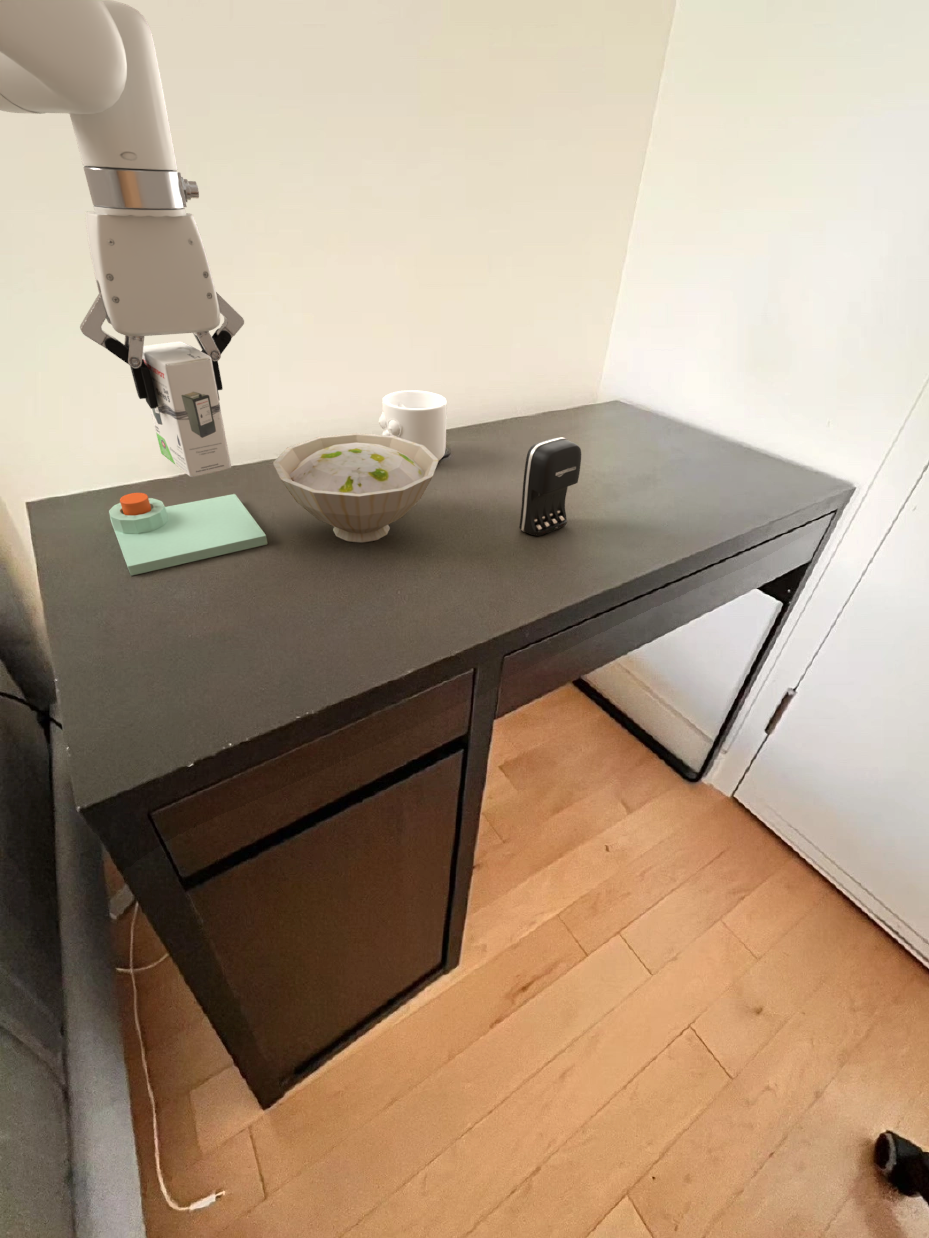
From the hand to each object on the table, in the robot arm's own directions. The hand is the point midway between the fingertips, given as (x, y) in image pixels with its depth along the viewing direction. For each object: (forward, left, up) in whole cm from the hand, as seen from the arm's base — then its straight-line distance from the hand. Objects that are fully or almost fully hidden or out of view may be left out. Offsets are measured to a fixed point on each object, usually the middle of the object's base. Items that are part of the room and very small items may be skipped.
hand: (182, 399), depth 65 cm
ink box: (0, 0, -7) cm, 7 cm away
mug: (+34, +12, -16) cm, 39 cm away
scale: (-2, +1, -16) cm, 16 cm away
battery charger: (+38, -18, -16) cm, 45 cm away
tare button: (-7, +5, -13) cm, 16 cm away
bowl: (+17, -7, -16) cm, 24 cm away
